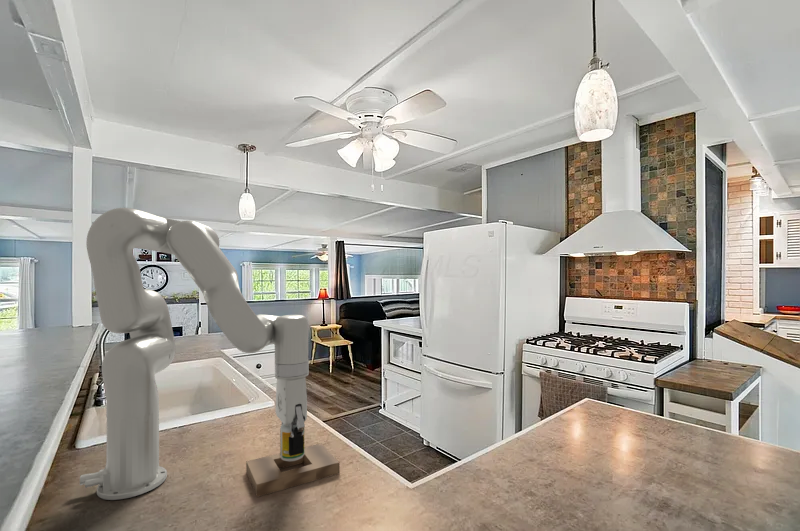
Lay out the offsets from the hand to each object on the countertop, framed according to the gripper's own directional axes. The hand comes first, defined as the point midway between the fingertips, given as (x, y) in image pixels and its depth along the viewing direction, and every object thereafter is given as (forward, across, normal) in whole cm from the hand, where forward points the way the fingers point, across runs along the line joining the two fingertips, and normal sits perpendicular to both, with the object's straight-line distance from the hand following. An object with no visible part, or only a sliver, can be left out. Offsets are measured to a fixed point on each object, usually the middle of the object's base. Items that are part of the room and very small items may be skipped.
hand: (292, 448), depth 90 cm
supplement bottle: (+2, 0, 0) cm, 2 cm away
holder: (+6, 0, 0) cm, 6 cm away
